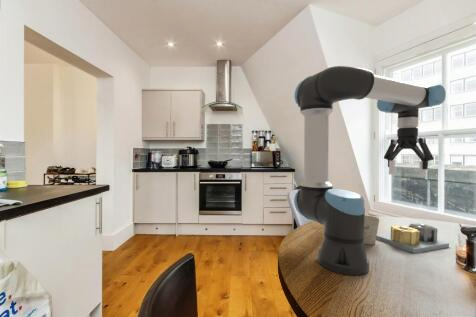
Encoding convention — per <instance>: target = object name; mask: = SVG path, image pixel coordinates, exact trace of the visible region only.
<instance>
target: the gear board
mask: <svg viewBox="0 0 476 317" xmlns="http://www.w3.org/2000/svg"><path fill="white" fill-rule="evenodd" d="M401 226H402V227H401V229H403V230H409V228H408V227H409V226H407V227H404V226H405V225H401ZM376 240H379V241H381V242H384V243H386V244H389V245H391V246H394V247H397V248H399V249H402V250H405V251H407V252H409V253H412V254H417V253H423V252H427V251H428V252H429V251H435V250H438V249H439V250H440V249H445V248H449V247H450V243H449V242H446V241H443V240H440V239H437V240H436V242H425V241H420V240H419V244H416V245H408V244H402V243H399V242H396V241H393V240H392V238H391V232H389V233H380V234H377V236H376Z"/></svg>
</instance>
